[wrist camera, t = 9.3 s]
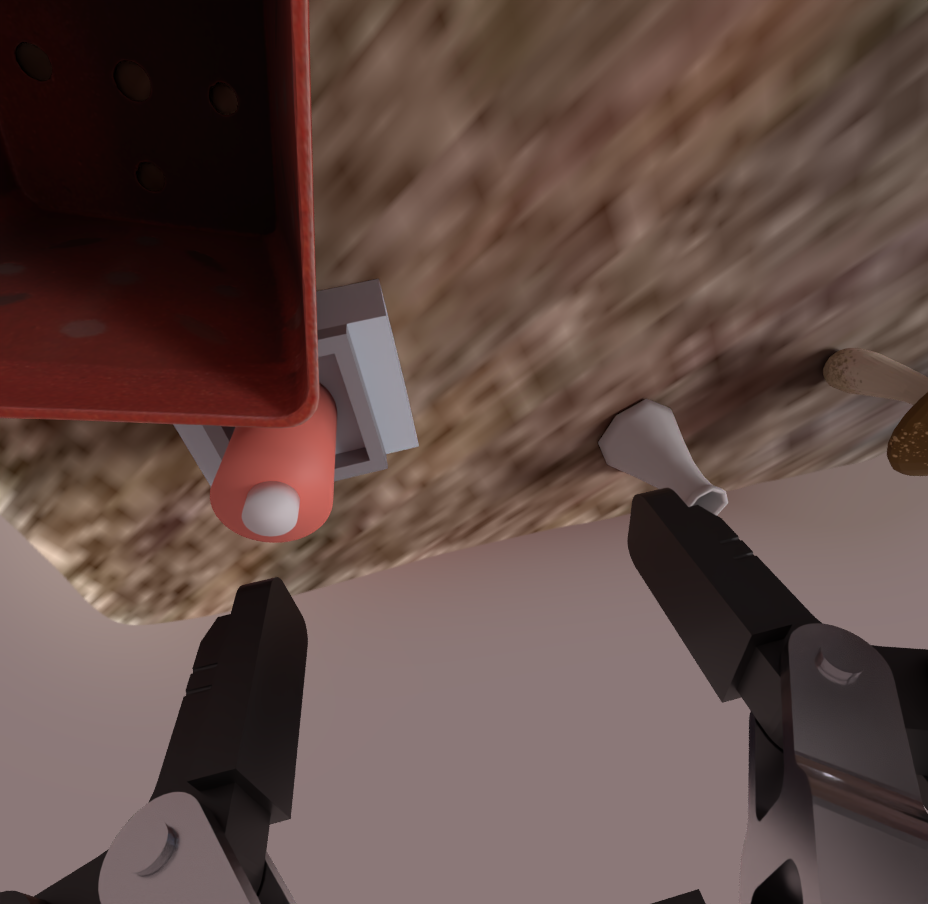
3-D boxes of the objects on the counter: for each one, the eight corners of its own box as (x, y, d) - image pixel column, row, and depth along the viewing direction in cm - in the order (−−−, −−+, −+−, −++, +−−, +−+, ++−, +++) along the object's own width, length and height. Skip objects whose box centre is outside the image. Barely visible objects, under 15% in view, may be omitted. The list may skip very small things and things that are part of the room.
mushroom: (903, 355, 42) (1131, 439, 30) (789, 429, 44) (956, 535, 32) (897, 274, 37) (1167, 335, 25) (768, 362, 39) (957, 457, 27)
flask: (647, 383, 38) (728, 446, 30) (688, 428, 42) (770, 495, 33) (582, 443, 40) (641, 517, 32) (626, 480, 44) (689, 556, 35)
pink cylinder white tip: (230, 384, 23) (178, 487, 16) (320, 363, 23) (307, 455, 16) (267, 456, 26) (237, 571, 19) (348, 436, 26) (347, 542, 19)
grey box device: (182, 319, 28) (117, 383, 20) (378, 278, 29) (388, 324, 21) (237, 427, 33) (201, 513, 25) (405, 389, 34) (422, 460, 26)
